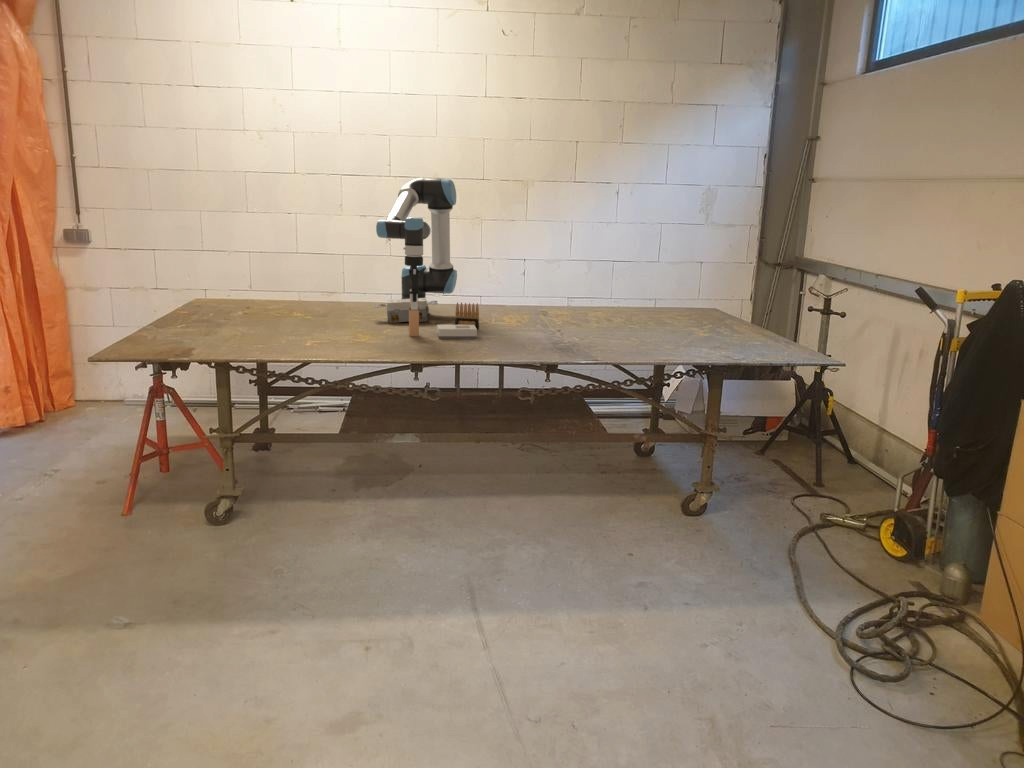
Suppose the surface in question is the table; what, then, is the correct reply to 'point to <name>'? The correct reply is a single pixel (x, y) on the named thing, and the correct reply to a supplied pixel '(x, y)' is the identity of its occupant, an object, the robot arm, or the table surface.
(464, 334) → the socket plate
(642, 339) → the table surface
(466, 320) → the ammunition clip
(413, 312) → the copper brown rectangular block
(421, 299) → the electrical outlet
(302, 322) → the table surface
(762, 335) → the table surface
